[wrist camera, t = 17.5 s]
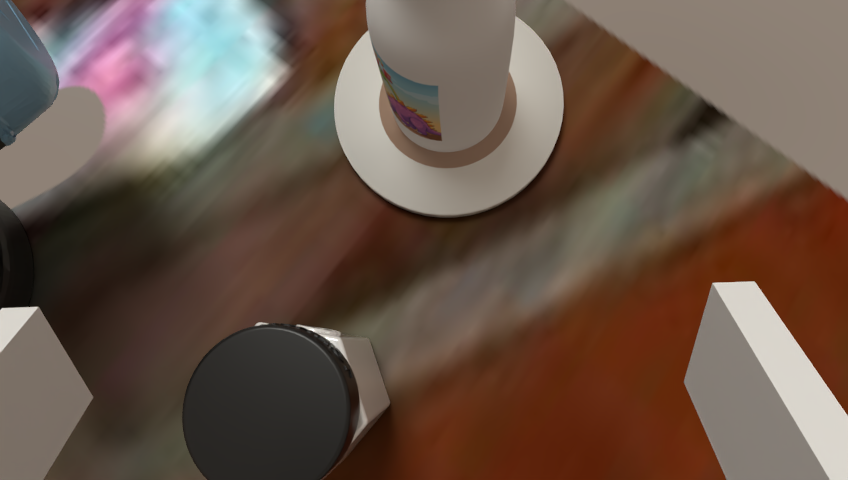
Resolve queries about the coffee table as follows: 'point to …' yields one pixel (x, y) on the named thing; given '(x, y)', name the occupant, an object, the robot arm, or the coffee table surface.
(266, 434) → the jar
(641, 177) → the coffee table surface
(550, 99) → the trivet
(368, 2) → the milk bottle
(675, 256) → the coffee table surface
